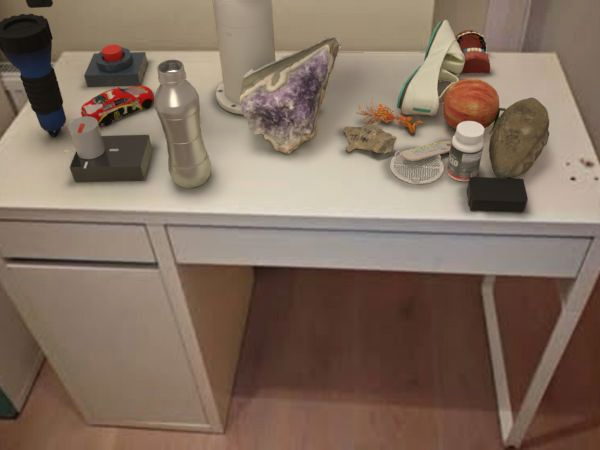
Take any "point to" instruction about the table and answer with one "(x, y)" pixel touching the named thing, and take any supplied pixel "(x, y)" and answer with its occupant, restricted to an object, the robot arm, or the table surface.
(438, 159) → the drain cover
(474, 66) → the dental model
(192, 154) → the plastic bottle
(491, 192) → the ink cartridge
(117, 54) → the button
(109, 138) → the panel
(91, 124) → the stove knob
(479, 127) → the pill bottle
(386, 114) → the dragon
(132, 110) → the race car
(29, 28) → the flashlight
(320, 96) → the gemstone
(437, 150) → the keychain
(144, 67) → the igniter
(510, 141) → the stone
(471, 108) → the fruit
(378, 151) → the artifact
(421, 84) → the white wedge shoe
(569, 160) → the table surface
